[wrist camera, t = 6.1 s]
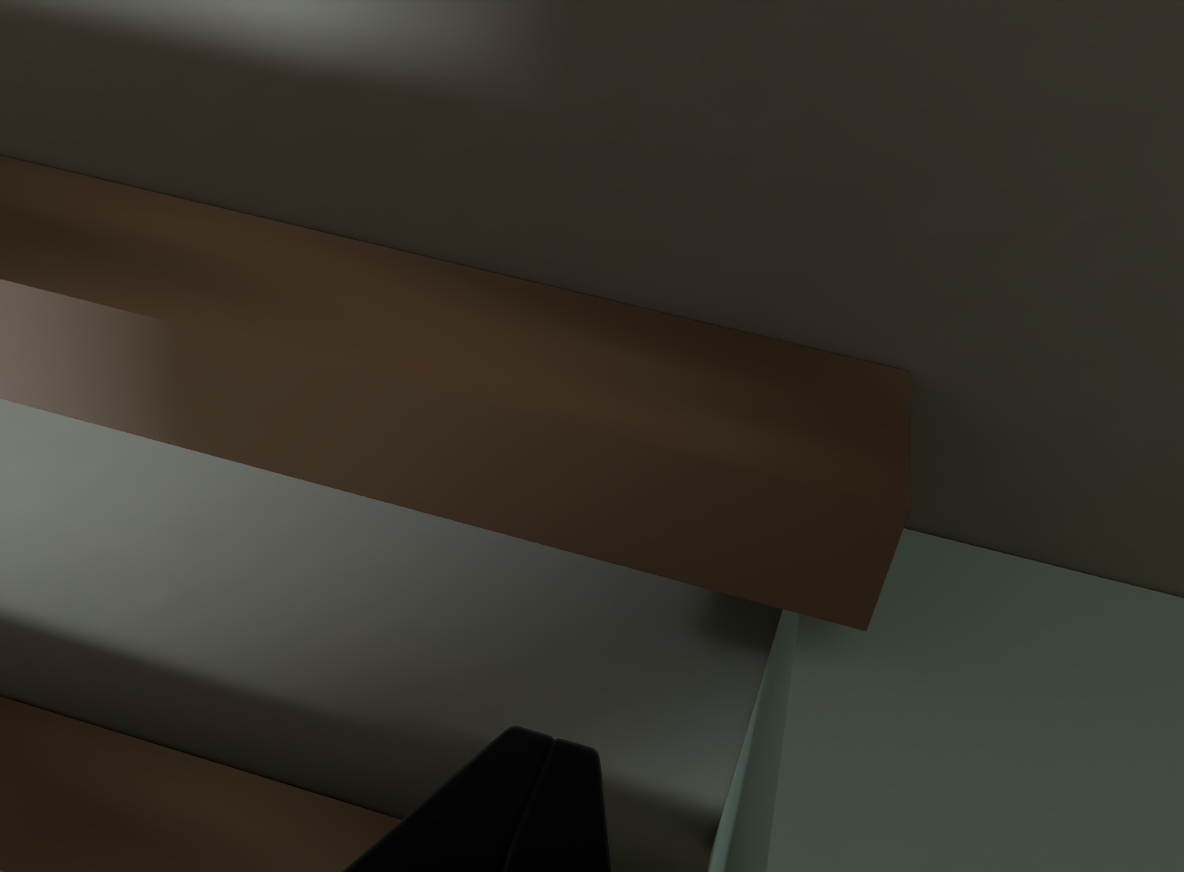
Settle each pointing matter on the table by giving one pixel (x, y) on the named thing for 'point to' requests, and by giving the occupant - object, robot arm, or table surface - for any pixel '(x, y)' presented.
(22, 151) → the table surface
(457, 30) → the table surface
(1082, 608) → the block
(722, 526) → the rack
